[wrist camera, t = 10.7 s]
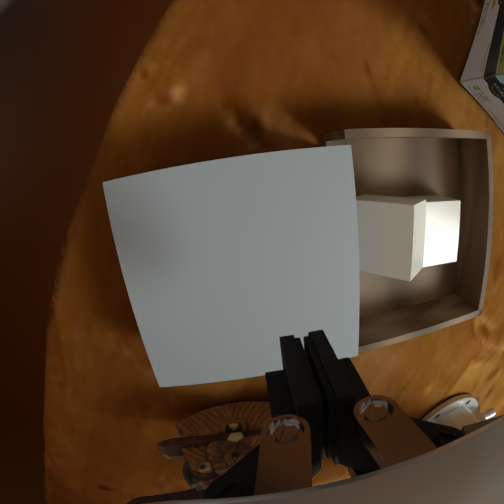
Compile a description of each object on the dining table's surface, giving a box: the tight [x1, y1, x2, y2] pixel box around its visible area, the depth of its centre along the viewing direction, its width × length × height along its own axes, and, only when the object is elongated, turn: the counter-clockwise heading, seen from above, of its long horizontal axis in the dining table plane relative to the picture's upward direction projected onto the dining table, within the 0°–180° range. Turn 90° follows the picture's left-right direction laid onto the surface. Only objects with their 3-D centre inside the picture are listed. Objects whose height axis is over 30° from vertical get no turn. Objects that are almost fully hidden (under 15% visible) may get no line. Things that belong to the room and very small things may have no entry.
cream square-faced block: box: [406, 195, 461, 267], centre depth 23 cm, size 5×5×3 cm
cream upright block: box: [356, 194, 426, 281], centre depth 21 cm, size 5×5×3 cm
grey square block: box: [102, 145, 360, 387], centre depth 21 cm, size 14×14×6 cm
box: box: [323, 128, 493, 353], centre depth 22 cm, size 13×16×4 cm
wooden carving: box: [158, 401, 272, 491], centre depth 24 cm, size 16×5×10 cm, turn 100°
